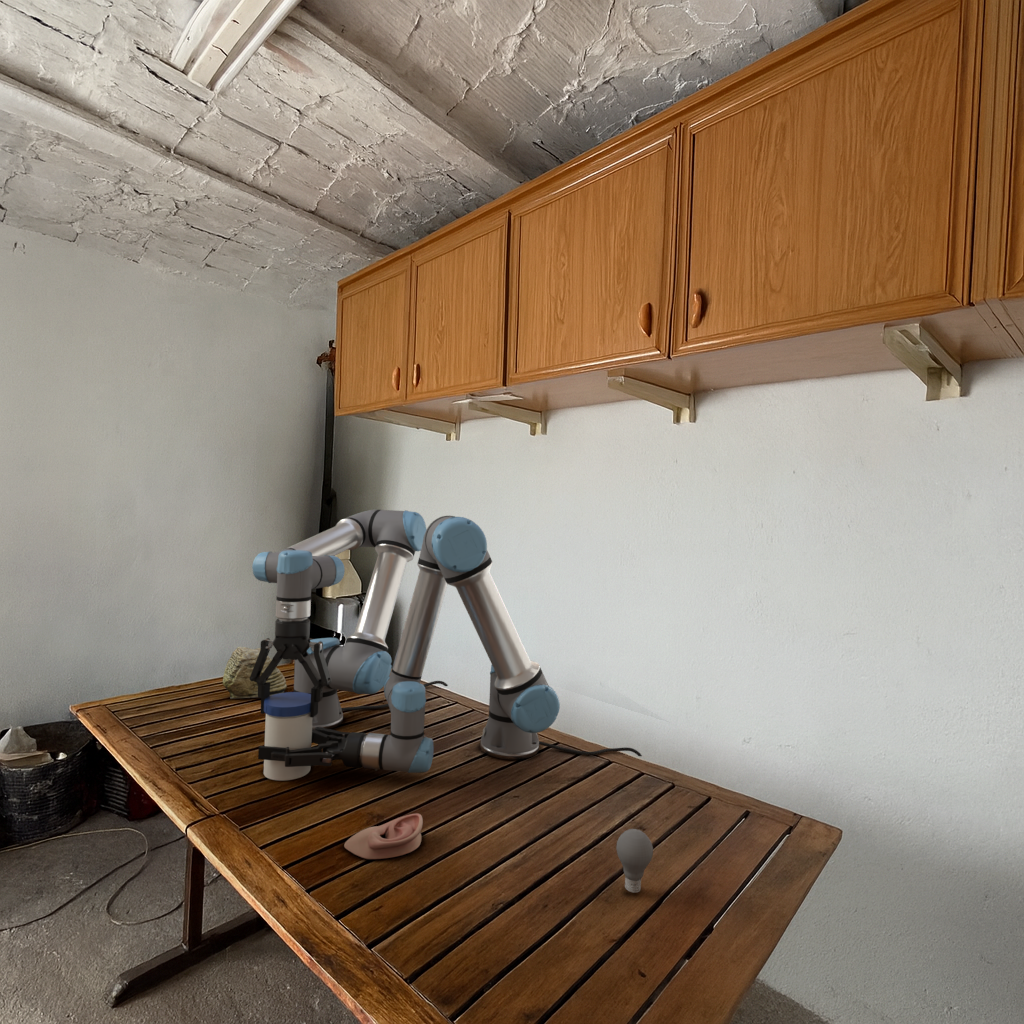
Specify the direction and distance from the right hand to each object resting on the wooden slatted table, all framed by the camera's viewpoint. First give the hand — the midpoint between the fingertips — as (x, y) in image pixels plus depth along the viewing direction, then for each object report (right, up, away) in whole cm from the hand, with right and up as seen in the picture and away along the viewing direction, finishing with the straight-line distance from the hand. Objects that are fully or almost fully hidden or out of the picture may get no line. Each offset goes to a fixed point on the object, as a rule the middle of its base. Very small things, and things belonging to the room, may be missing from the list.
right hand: (270, 743), depth 146 cm
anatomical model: (+32, -8, -29) cm, 44 cm away
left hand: (+5, +7, -1) cm, 8 cm away
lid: (+5, +10, -1) cm, 11 cm away
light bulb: (+76, -10, -40) cm, 86 cm away
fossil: (-25, -4, +52) cm, 58 cm away
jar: (+4, -6, 0) cm, 7 cm away
